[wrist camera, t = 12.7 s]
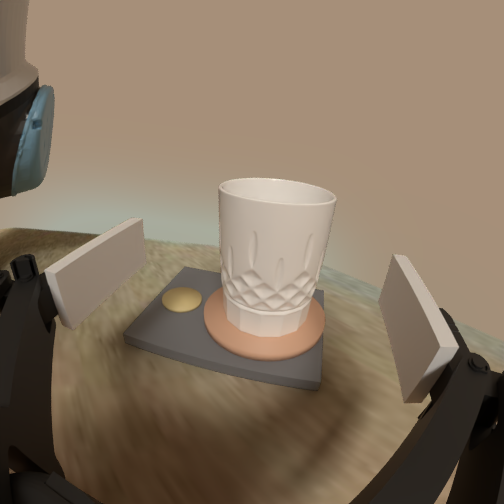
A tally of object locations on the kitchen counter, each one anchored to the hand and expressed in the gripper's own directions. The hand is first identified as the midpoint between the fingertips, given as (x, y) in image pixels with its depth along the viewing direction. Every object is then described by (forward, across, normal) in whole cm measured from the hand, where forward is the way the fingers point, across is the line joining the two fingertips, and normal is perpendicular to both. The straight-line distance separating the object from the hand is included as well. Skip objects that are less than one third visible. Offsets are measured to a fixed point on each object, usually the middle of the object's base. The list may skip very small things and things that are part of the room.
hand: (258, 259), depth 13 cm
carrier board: (+6, -2, -9) cm, 12 cm away
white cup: (+6, 0, -8) cm, 10 cm away
